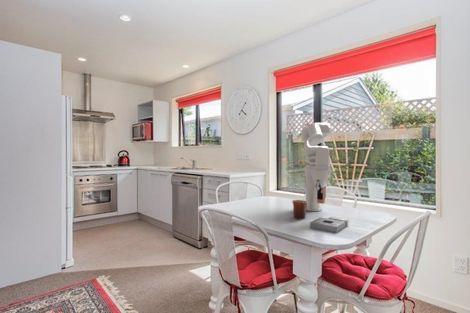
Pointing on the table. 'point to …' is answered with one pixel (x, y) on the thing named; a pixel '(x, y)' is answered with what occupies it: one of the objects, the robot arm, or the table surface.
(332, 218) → the tilted grey slab block
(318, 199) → the pin
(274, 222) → the table surface
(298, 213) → the mug
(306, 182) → the robot arm
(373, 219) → the table surface
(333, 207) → the table surface
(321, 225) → the square hole plate
